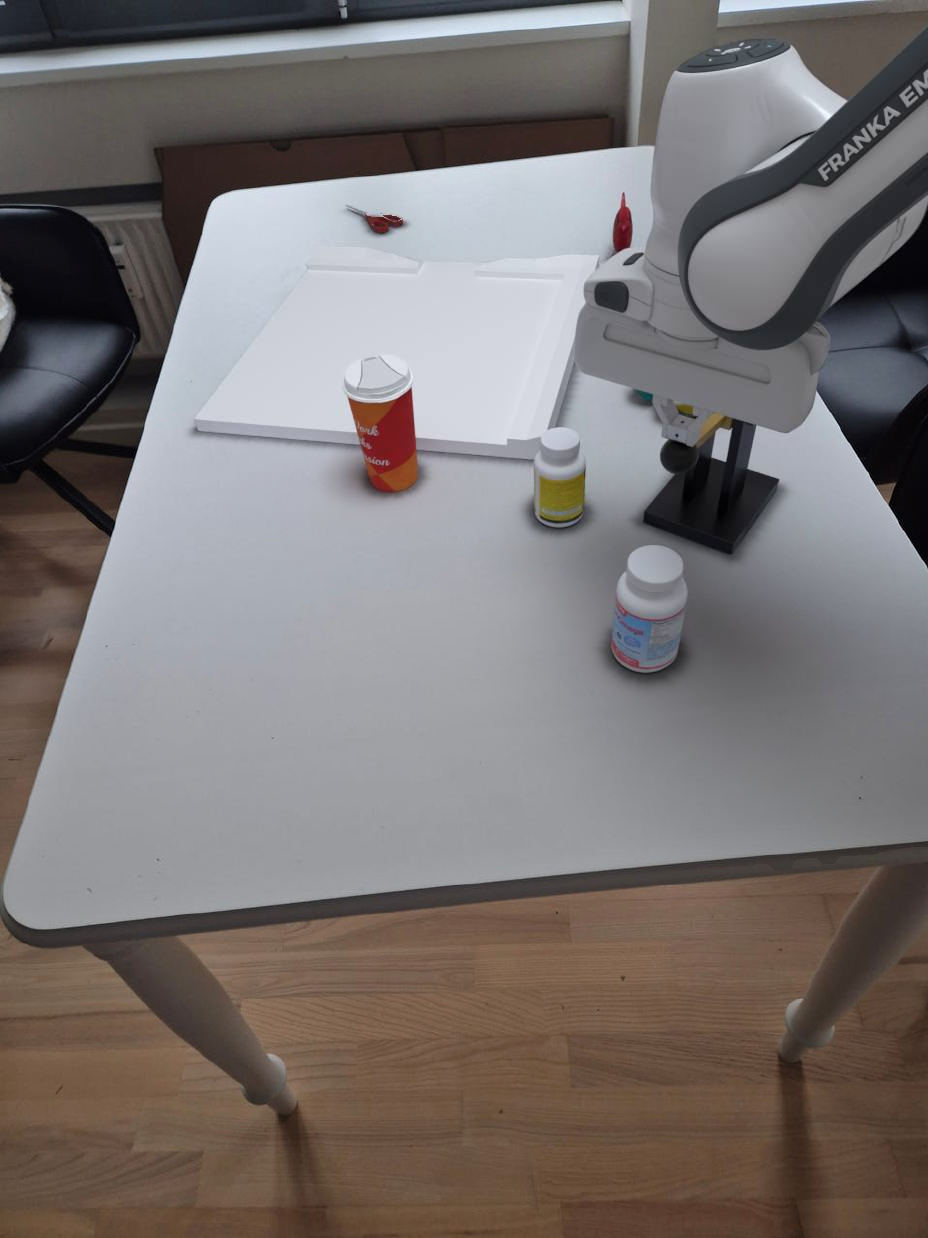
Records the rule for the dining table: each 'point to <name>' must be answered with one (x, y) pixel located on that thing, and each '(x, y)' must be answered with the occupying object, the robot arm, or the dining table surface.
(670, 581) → the pill bottle
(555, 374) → the tray
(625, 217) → the decorative bird figurine
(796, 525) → the dining table surface
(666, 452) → the lever with black knob
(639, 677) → the dining table surface
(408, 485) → the paper cup
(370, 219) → the scissors
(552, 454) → the supplement bottle
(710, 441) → the black lever stand
